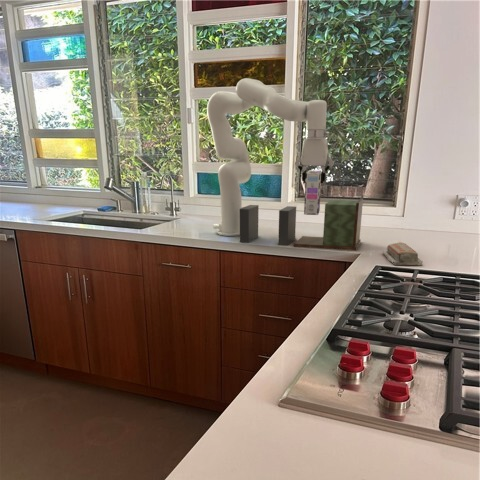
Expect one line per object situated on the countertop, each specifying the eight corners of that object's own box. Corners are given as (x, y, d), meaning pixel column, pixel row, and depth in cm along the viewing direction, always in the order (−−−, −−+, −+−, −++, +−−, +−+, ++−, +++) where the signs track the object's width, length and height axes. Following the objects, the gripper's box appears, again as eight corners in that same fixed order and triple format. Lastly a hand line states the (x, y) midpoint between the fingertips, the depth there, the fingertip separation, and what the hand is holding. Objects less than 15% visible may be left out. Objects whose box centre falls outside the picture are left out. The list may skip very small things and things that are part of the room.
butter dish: (424, 252, 157) (394, 252, 157) (422, 266, 158) (393, 265, 159) (410, 241, 173) (383, 241, 174) (408, 254, 175) (381, 253, 176)
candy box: (318, 215, 184) (320, 172, 178) (303, 215, 185) (305, 172, 179) (320, 210, 196) (322, 170, 190) (306, 210, 197) (307, 170, 192)
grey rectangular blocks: (239, 242, 198) (239, 208, 193) (249, 236, 210) (249, 204, 205) (287, 245, 192) (288, 210, 187) (295, 238, 204) (296, 206, 199)
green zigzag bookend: (293, 246, 189) (295, 200, 183) (302, 238, 204) (304, 196, 198) (356, 250, 182) (360, 203, 175) (360, 242, 197) (364, 198, 190)
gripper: (339, 134, 181) (336, 182, 187) (295, 135, 186) (294, 182, 192) (336, 134, 174) (333, 184, 180) (291, 135, 179) (290, 183, 186)
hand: (313, 182), depth 186 cm, fingers closed on candy box, 6 cm apart
